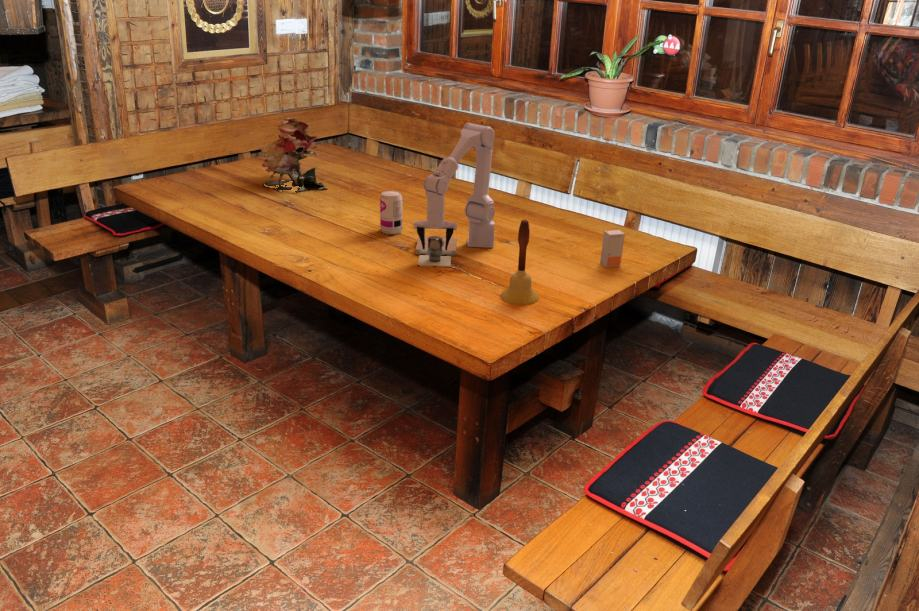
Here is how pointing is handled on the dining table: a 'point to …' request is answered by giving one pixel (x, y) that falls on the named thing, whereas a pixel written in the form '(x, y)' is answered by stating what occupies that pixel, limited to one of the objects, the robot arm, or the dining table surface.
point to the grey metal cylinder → (434, 248)
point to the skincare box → (612, 248)
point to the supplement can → (391, 212)
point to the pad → (425, 262)
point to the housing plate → (450, 249)
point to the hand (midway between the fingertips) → (435, 248)
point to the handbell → (521, 274)
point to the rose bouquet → (290, 155)
